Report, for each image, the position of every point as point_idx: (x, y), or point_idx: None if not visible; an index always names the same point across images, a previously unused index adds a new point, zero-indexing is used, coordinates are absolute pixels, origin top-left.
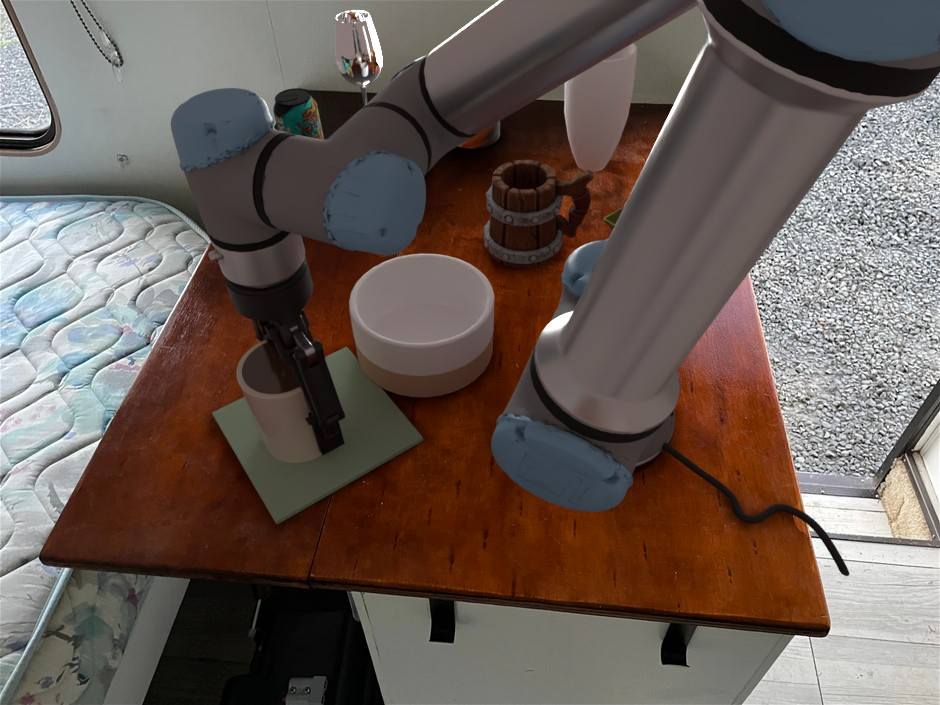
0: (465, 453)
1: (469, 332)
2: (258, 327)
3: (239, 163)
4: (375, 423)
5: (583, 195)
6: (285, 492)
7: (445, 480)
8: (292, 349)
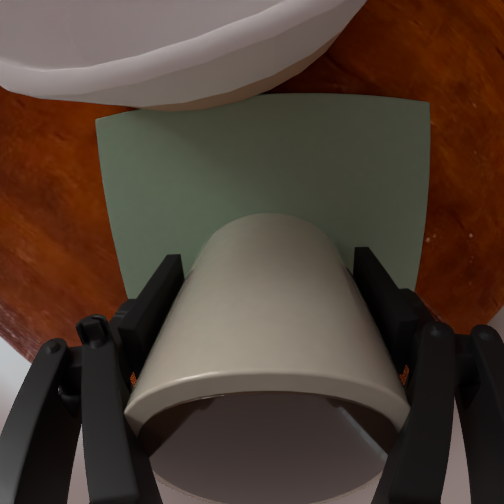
0: (477, 70)
1: None
2: (74, 441)
3: None
4: (345, 158)
5: None
6: None
7: (497, 132)
8: (215, 438)
